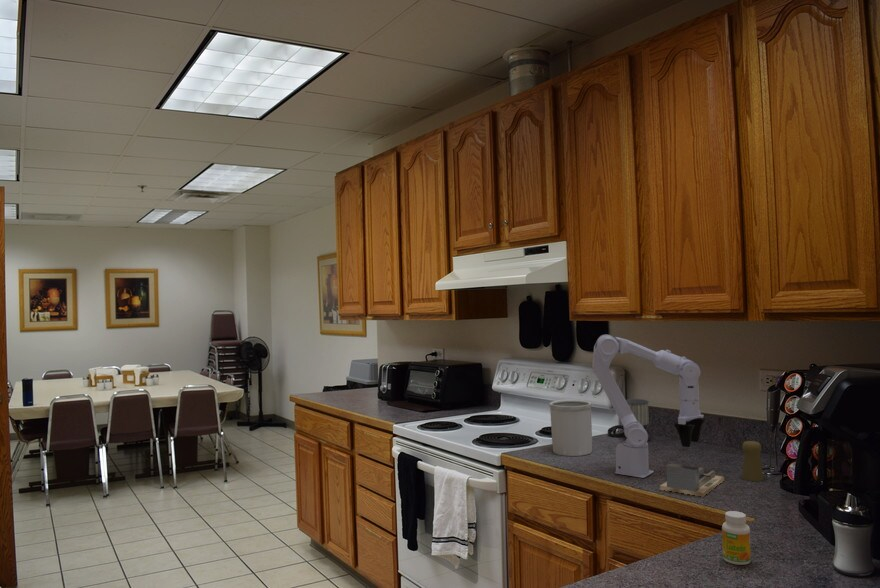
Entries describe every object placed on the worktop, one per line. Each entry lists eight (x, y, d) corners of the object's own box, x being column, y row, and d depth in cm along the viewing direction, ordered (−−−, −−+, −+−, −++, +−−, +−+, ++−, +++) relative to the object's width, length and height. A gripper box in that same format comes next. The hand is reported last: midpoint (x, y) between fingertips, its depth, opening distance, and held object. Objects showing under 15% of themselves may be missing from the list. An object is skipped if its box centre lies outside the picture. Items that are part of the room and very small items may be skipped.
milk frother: (650, 443, 244) (649, 403, 244) (606, 441, 248) (605, 402, 248) (649, 434, 257) (648, 397, 257) (608, 433, 262) (607, 396, 262)
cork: (744, 474, 200) (743, 438, 200) (766, 477, 196) (765, 440, 196) (739, 479, 195) (738, 442, 195) (761, 482, 191) (760, 444, 191)
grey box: (666, 486, 186) (666, 465, 186) (670, 484, 188) (670, 463, 188) (695, 491, 181) (695, 469, 181) (699, 489, 183) (698, 467, 183)
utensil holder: (547, 455, 229) (546, 405, 229) (554, 445, 243) (552, 398, 243) (590, 458, 225) (589, 406, 224) (594, 447, 239) (593, 399, 239)
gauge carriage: (680, 481, 190) (680, 469, 190) (686, 477, 194) (686, 465, 194) (708, 485, 185) (707, 473, 185) (713, 481, 189) (713, 469, 189)
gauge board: (660, 489, 187) (659, 480, 187) (683, 474, 202) (683, 465, 202) (703, 497, 180) (703, 487, 179) (724, 480, 194) (724, 471, 194)
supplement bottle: (723, 563, 137) (722, 517, 137) (722, 553, 142) (721, 508, 142) (752, 566, 135) (750, 519, 135) (749, 556, 140) (748, 511, 140)
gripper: (694, 404, 193) (695, 450, 193) (710, 397, 204) (711, 441, 204) (670, 402, 198) (671, 447, 198) (687, 395, 209) (688, 438, 209)
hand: (690, 444), depth 201 cm, fingers open, 7 cm apart
